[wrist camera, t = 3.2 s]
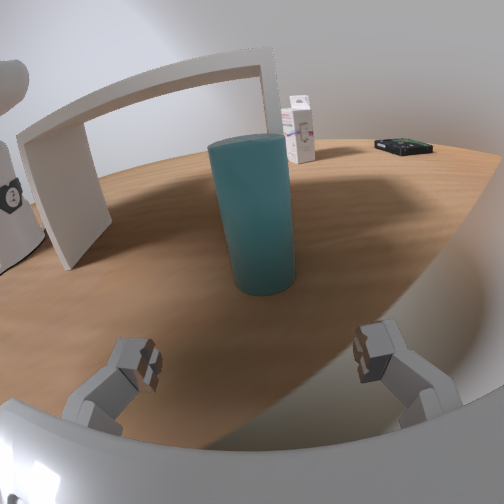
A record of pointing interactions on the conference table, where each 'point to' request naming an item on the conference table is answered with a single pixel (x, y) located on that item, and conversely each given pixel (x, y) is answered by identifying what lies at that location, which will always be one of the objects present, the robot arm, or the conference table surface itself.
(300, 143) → the ink cartridge box
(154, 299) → the conference table surface
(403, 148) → the disk drive
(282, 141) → the teal cylinder
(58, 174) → the arch
